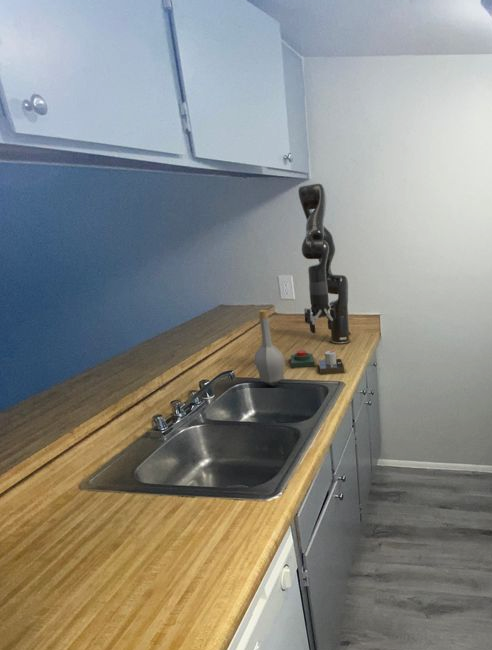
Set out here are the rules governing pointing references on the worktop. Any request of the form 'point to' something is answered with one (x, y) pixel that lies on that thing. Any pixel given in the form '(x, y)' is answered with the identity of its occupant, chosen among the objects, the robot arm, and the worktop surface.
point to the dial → (330, 357)
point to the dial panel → (331, 367)
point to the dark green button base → (302, 361)
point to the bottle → (268, 355)
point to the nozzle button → (301, 353)
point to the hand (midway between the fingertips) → (321, 331)
